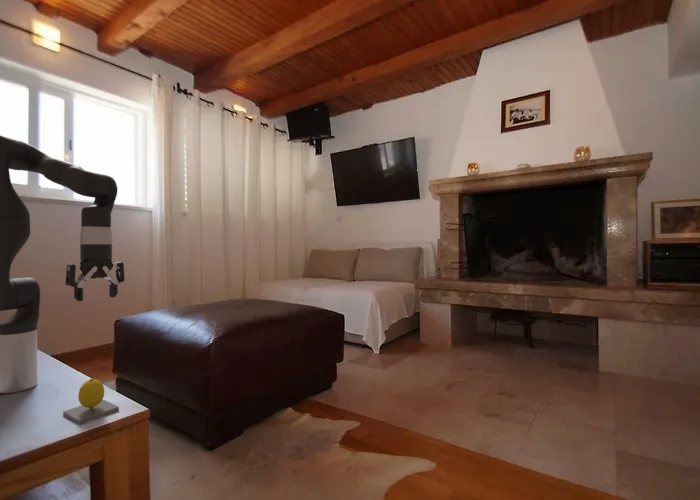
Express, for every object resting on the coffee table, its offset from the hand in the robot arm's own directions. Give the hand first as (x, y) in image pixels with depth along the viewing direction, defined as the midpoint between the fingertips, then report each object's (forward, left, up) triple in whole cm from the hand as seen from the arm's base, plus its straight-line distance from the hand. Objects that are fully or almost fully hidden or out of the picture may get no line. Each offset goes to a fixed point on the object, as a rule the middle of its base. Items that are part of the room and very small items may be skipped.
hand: (96, 299), depth 105 cm
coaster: (+10, -6, -28) cm, 31 cm away
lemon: (+10, -6, -27) cm, 30 cm away
